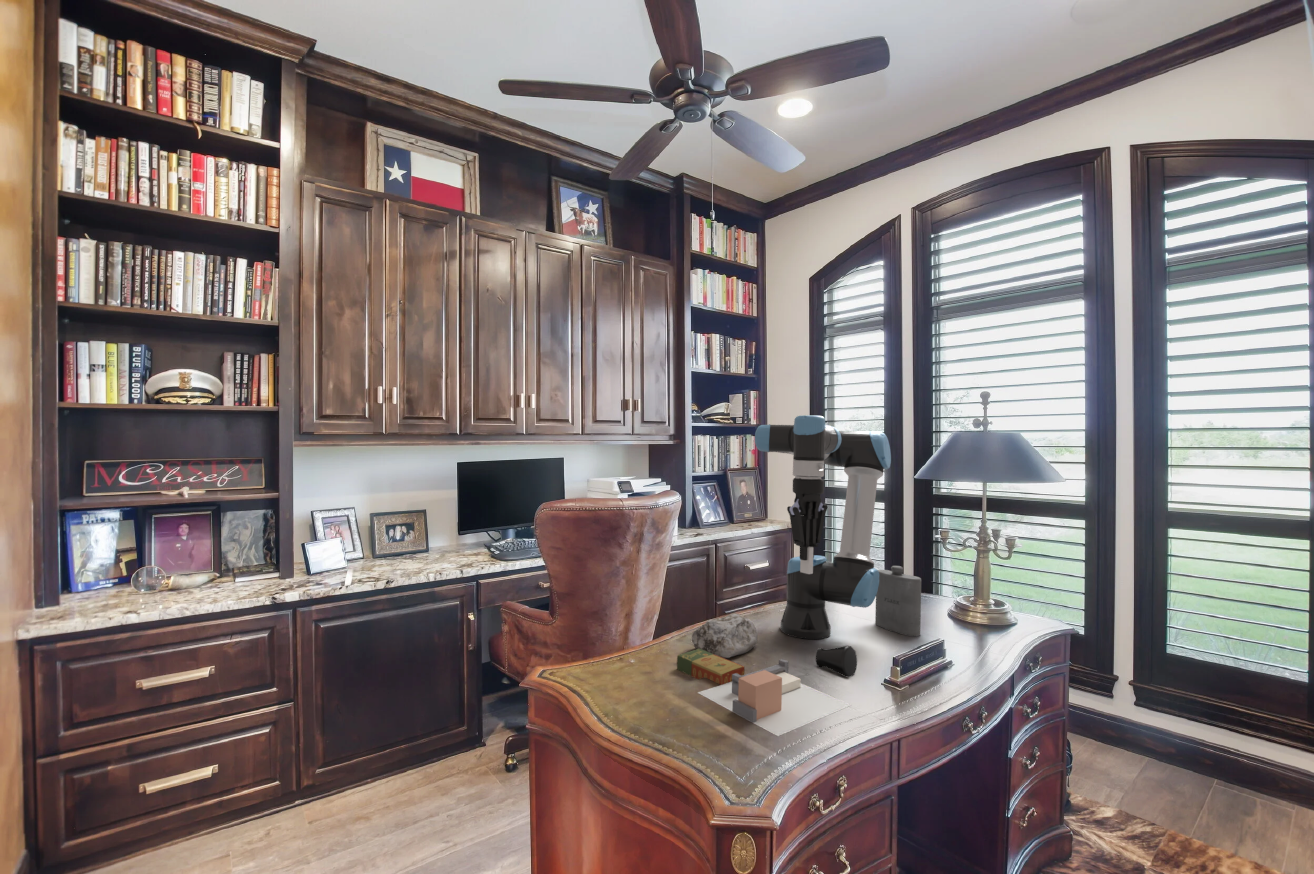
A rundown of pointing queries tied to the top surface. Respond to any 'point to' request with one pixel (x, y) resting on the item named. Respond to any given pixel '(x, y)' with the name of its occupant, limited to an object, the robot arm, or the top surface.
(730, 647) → the decorative stone
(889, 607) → the flask
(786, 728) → the board
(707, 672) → the carton
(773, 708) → the block
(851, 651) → the black tapered cylinder
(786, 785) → the top surface
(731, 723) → the top surface
